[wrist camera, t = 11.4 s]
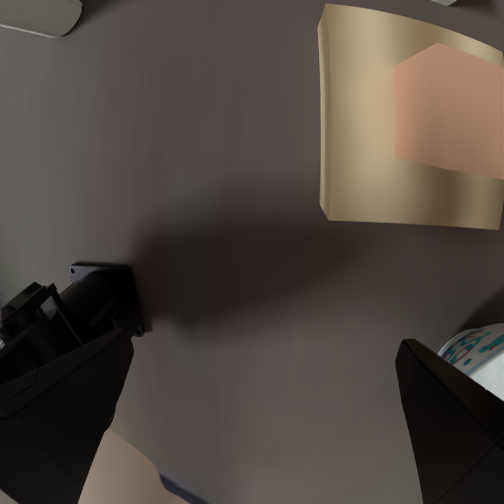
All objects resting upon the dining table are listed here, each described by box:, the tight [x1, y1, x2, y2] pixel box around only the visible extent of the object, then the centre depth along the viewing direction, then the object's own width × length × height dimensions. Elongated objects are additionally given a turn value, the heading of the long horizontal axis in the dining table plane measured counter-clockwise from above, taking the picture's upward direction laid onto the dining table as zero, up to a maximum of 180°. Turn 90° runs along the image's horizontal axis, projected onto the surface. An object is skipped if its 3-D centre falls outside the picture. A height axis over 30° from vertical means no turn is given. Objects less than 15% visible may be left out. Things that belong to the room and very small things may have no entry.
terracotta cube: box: [394, 43, 504, 180], centre depth 10 cm, size 5×5×5 cm
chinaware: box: [437, 323, 504, 401], centre depth 19 cm, size 15×15×8 cm
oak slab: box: [318, 4, 504, 230], centre depth 14 cm, size 12×12×4 cm
